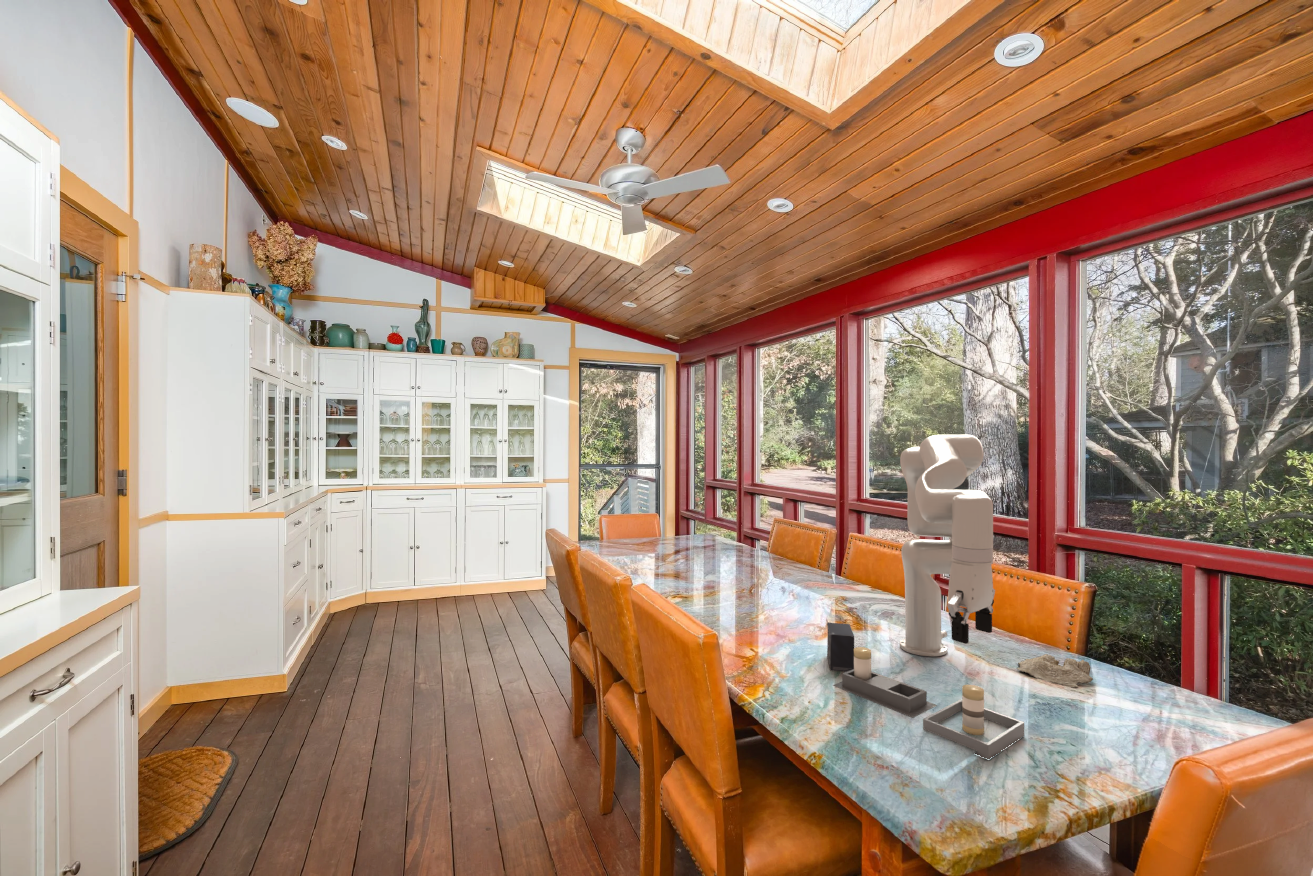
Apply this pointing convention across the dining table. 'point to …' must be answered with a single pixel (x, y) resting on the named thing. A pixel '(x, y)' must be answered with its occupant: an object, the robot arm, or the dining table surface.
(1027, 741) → the dining table surface
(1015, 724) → the tray
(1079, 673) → the coral
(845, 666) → the small box
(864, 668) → the cylinder
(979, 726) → the fuse
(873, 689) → the fuse block
